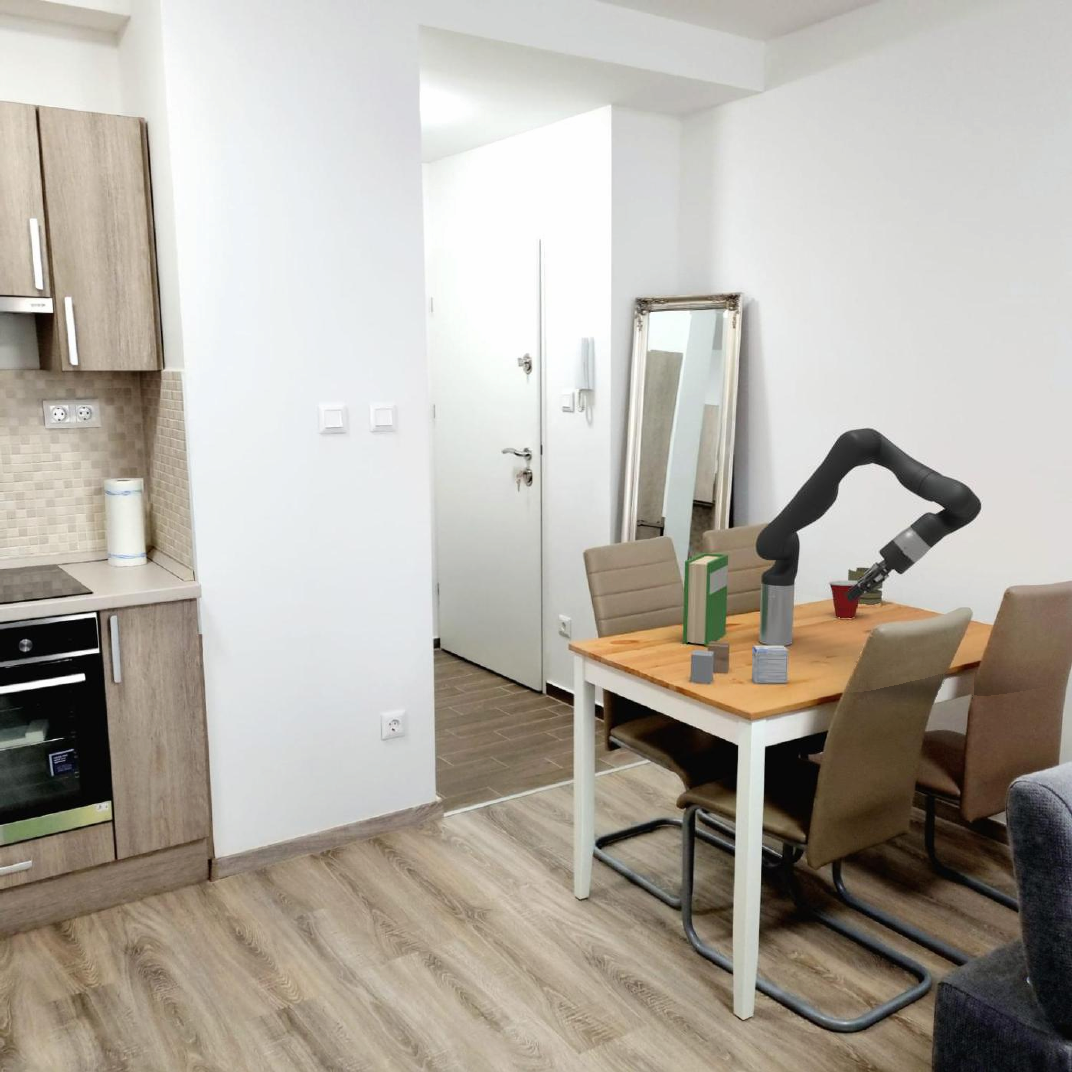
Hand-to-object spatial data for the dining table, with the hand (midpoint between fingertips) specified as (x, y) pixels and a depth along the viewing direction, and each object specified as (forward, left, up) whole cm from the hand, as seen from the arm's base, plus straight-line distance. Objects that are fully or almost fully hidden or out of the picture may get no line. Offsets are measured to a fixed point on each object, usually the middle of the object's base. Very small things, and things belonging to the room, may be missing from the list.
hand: (848, 598), depth 246 cm
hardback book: (-41, -38, -22) cm, 60 cm away
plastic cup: (-85, +2, -22) cm, 88 cm away
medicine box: (0, -18, -22) cm, 28 cm away
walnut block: (-7, -31, -22) cm, 39 cm away
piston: (-110, +9, -22) cm, 113 cm away
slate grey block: (+4, -34, -22) cm, 41 cm away
